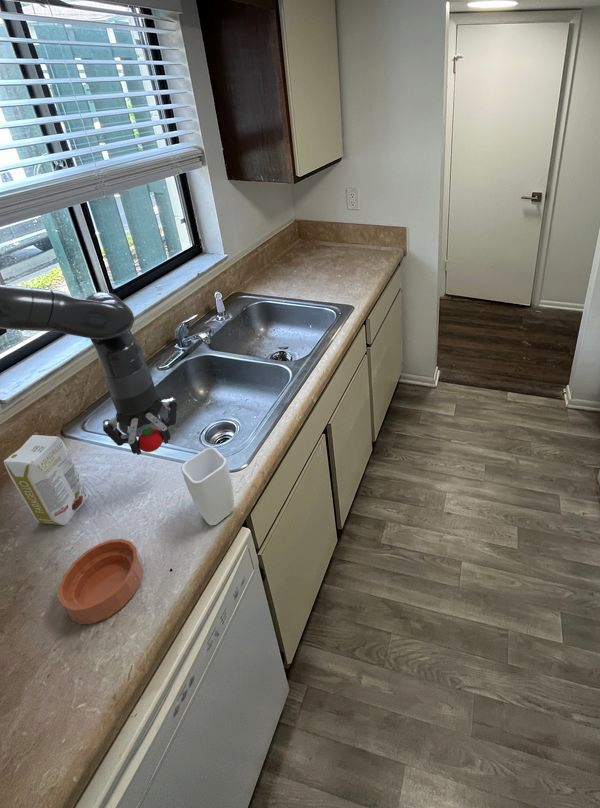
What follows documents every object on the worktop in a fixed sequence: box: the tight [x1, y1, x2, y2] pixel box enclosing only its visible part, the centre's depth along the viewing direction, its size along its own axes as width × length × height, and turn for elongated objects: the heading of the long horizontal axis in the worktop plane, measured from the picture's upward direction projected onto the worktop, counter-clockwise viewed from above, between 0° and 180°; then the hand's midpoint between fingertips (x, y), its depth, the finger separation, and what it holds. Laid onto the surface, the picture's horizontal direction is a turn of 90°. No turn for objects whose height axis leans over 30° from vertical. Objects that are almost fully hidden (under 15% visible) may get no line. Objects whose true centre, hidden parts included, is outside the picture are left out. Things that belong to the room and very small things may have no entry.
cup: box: [180, 446, 235, 526], centre depth 92 cm, size 7×7×15 cm
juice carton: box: [3, 434, 89, 526], centre depth 92 cm, size 8×9×19 cm
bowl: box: [57, 538, 145, 625], centre depth 81 cm, size 12×12×5 cm
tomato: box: [137, 426, 164, 453], centre depth 94 cm, size 5×5×5 cm
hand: (152, 446), depth 95 cm, fingers closed on tomato, 4 cm apart
